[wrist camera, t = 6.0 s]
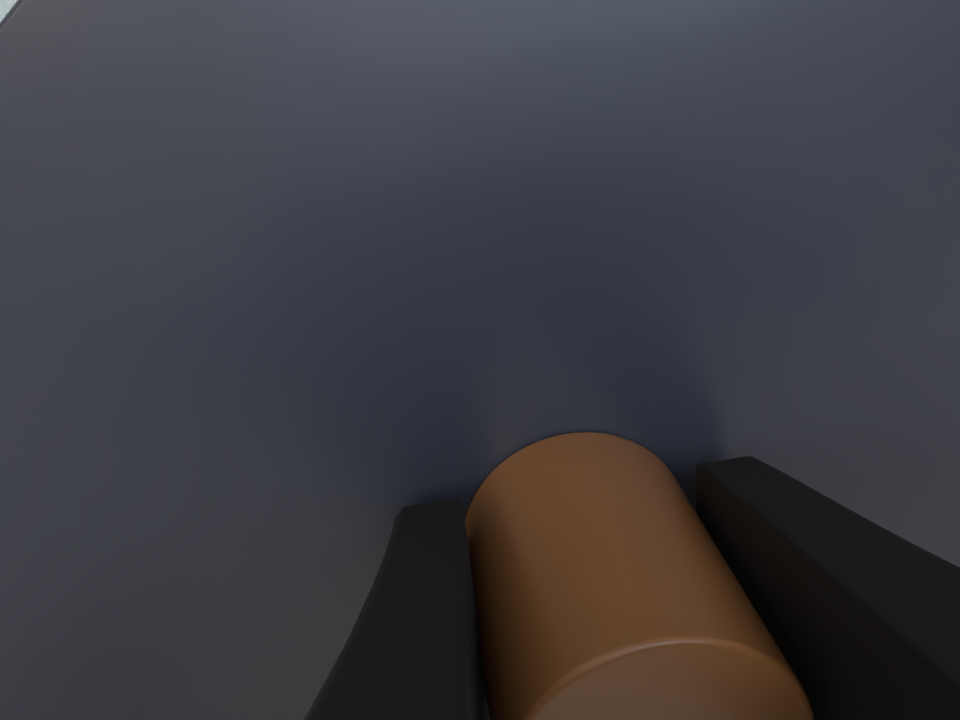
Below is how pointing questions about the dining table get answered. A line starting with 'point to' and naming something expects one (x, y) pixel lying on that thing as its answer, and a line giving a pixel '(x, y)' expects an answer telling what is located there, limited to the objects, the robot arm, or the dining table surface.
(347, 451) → the pan lid
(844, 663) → the robot arm
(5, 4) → the dining table surface
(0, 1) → the dining table surface
